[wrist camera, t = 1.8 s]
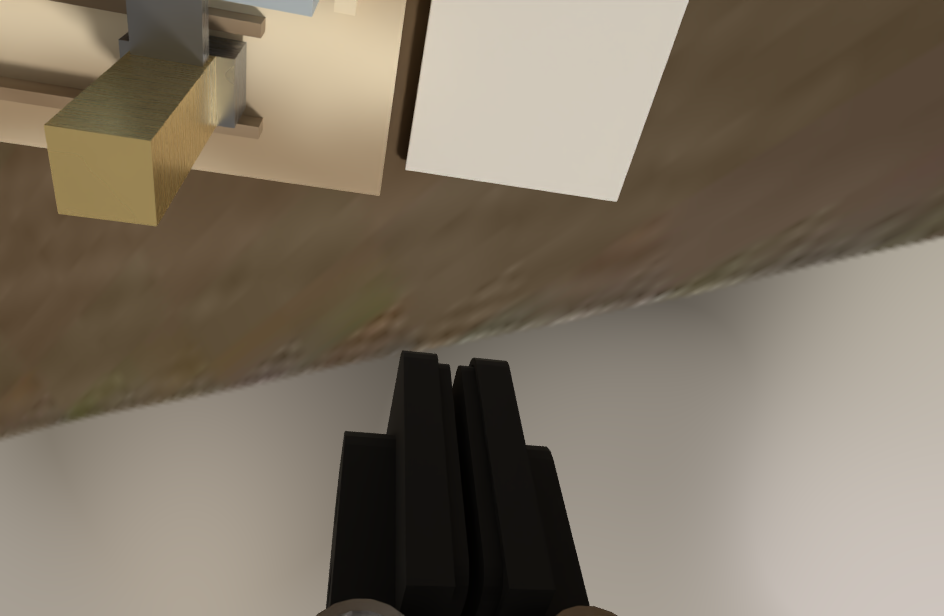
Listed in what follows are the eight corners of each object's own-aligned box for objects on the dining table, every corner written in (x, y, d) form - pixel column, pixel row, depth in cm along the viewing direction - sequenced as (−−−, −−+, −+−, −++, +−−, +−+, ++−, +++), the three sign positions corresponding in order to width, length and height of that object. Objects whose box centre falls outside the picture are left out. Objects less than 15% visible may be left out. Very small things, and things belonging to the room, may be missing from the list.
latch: (131, -87, 18) (-13, -34, 12) (247, -62, 19) (168, 1, 12) (144, 90, 21) (32, 210, 14) (245, 106, 21) (180, 229, 15)
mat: (456, -158, 21) (456, -158, 21) (717, -94, 23) (722, -93, 23) (405, 165, 27) (405, 169, 27) (614, 197, 29) (616, 201, 29)
